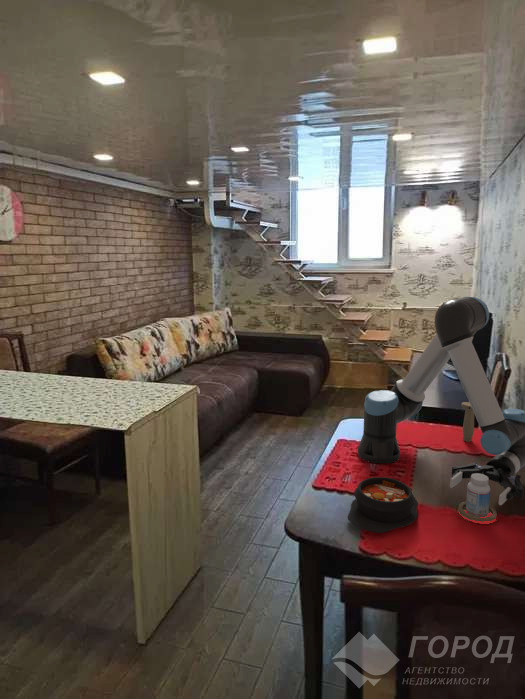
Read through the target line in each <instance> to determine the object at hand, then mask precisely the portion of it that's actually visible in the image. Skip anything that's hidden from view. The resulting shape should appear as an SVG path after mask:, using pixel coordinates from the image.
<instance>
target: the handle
mask: <svg viewBox="0 0 525 699" xmlns="http://www.w3.org/2000/svg"><path fill="white" fill-rule="evenodd" d="M460 406H461V408H463V409H464V410H465V411H464V418H463V426H462V436H463V437H462V440H463V441H464V442H470V443H471V442H472V441H473V435H474V431H475V414H474V412H473V409H472V407H471V405H470V402H469V401H467V402H466V401H464V402H463V401H462V402H461V405H460Z"/></svg>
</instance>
